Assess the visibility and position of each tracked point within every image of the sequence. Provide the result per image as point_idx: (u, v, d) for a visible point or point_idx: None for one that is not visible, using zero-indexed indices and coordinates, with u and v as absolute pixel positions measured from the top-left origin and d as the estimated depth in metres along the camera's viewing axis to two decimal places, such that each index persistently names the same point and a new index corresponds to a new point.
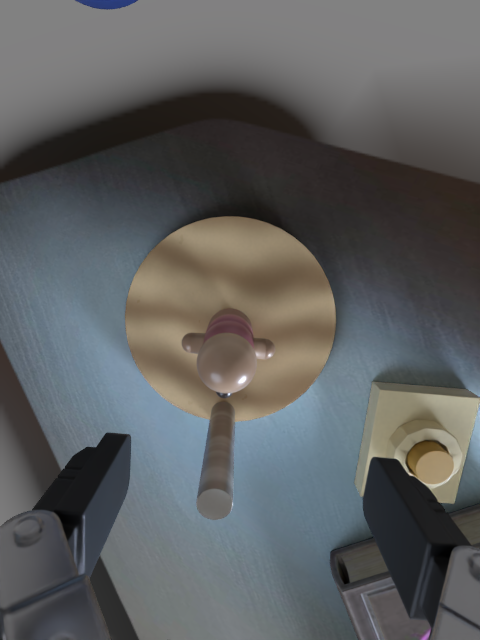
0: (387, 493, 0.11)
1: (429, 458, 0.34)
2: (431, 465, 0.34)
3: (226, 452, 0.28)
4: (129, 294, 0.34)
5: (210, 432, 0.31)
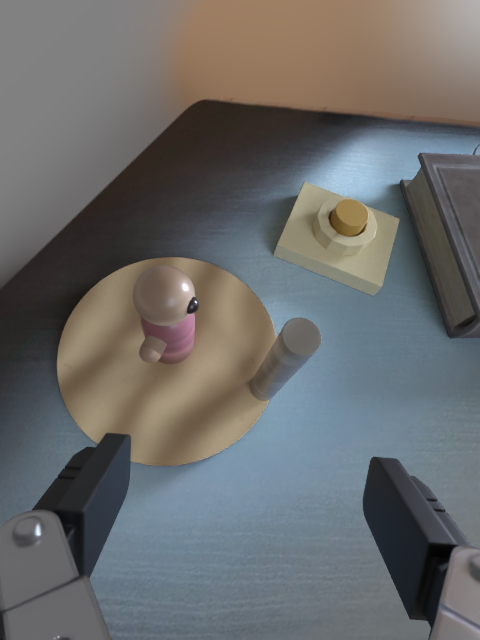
0: (387, 493, 0.11)
1: (342, 213, 0.38)
2: (349, 214, 0.38)
3: None
4: (96, 441, 0.30)
5: (261, 378, 0.28)
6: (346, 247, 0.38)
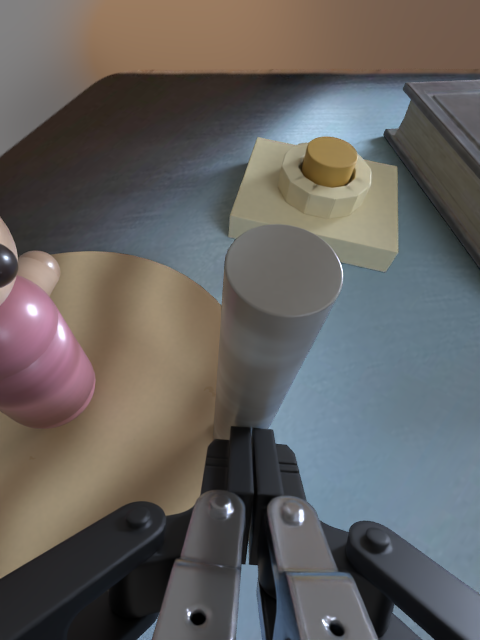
0: (253, 457, 0.12)
1: (318, 154, 0.25)
2: (328, 153, 0.25)
3: None
4: None
5: (222, 417, 0.13)
6: (334, 202, 0.25)
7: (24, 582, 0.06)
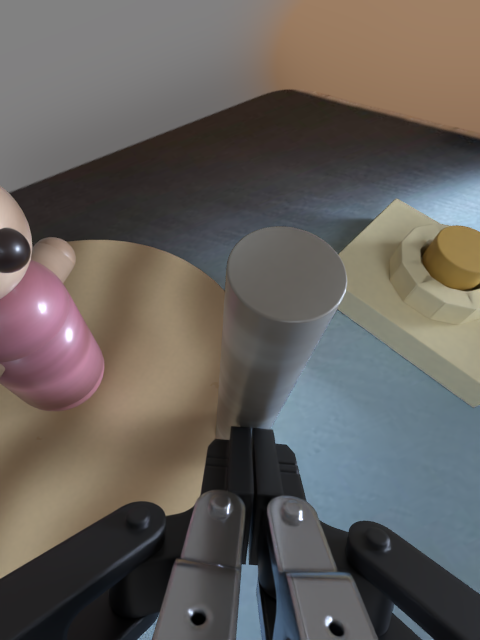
0: (253, 458, 0.12)
1: (448, 245, 0.21)
2: (462, 248, 0.21)
3: None
4: None
5: (223, 415, 0.13)
6: (442, 305, 0.21)
7: (24, 582, 0.06)
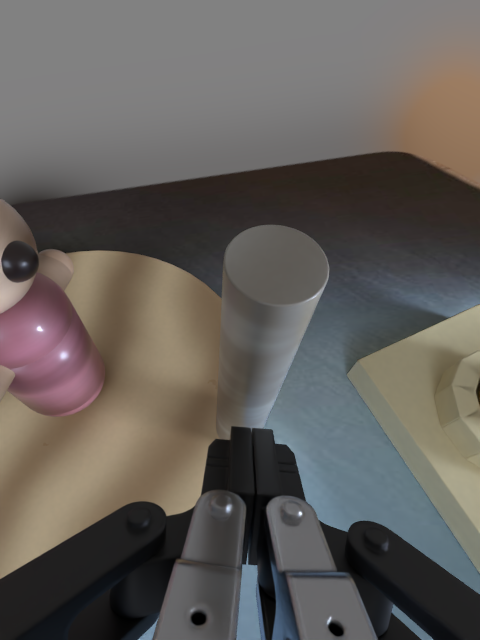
0: (252, 458, 0.12)
1: None
2: None
3: None
4: None
5: (223, 405, 0.14)
6: None
7: (25, 582, 0.06)
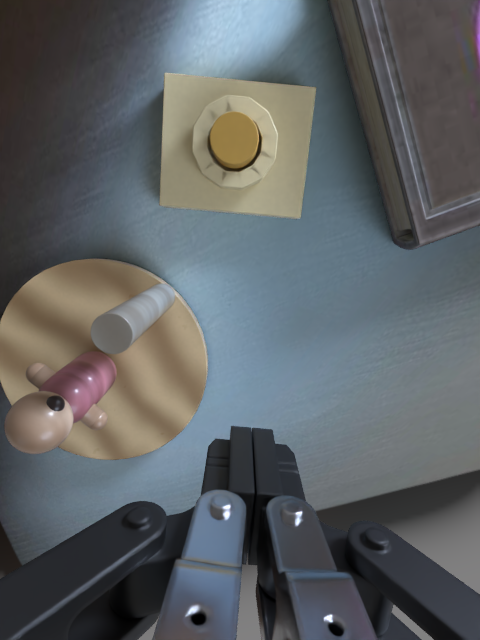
0: (252, 458, 0.12)
1: (220, 147, 0.27)
2: (230, 143, 0.27)
3: None
4: (165, 442, 0.36)
5: None
6: (242, 188, 0.29)
7: (25, 582, 0.06)
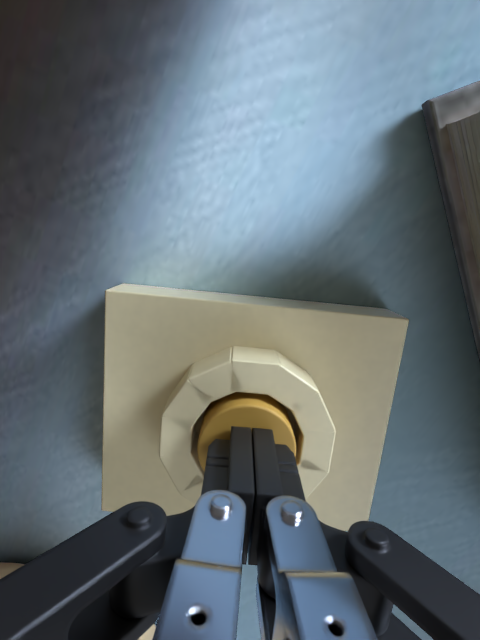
0: (252, 458, 0.12)
1: None
2: None
3: None
4: None
5: None
6: None
7: (25, 582, 0.06)
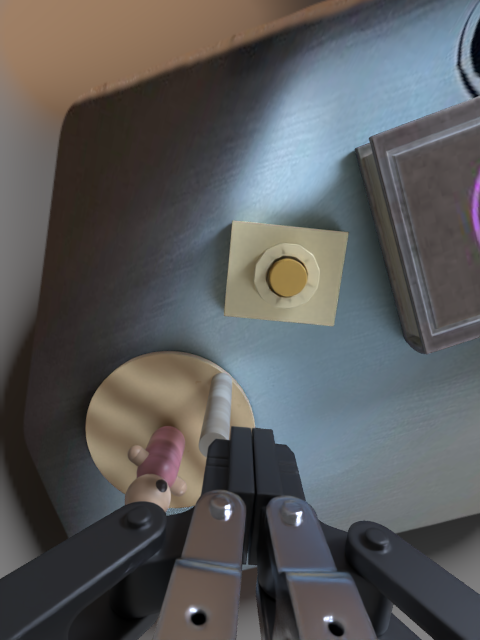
0: (252, 458, 0.12)
1: (278, 284, 0.36)
2: (285, 281, 0.36)
3: None
4: None
5: None
6: (291, 308, 0.38)
7: (25, 582, 0.06)
